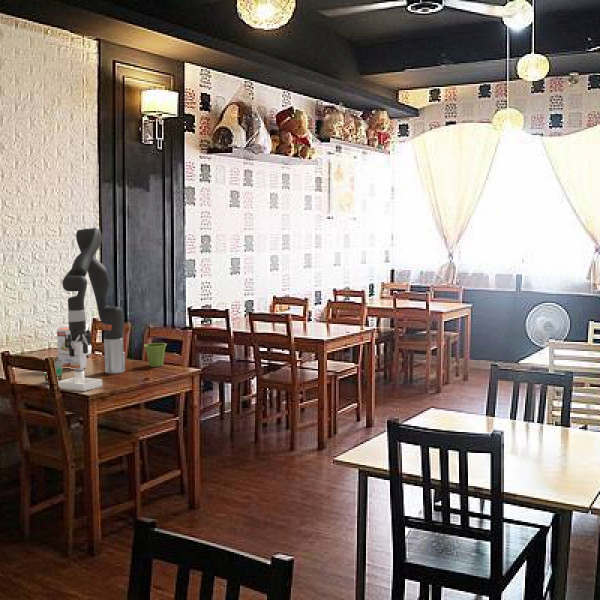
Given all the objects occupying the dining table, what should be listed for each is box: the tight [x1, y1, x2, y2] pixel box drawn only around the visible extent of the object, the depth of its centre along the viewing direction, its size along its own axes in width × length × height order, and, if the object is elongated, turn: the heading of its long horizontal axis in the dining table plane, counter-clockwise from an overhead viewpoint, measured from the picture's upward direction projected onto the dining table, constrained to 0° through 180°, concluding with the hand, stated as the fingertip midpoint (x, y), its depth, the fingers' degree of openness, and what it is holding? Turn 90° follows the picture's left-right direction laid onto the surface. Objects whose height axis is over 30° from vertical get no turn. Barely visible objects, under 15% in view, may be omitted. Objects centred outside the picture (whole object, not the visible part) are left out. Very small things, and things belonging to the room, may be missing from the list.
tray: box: [58, 377, 103, 392], centre depth 355 cm, size 12×16×4 cm
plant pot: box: [143, 342, 168, 368], centre depth 408 cm, size 12×12×11 cm
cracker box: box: [56, 328, 88, 369], centre depth 405 cm, size 14×6×21 cm, turn 68°
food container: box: [44, 358, 63, 385], centre depth 369 cm, size 12×6×10 cm, turn 168°
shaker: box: [73, 368, 86, 384], centre depth 355 cm, size 4×4×8 cm
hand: (78, 355), depth 354 cm, fingers open, 8 cm apart
